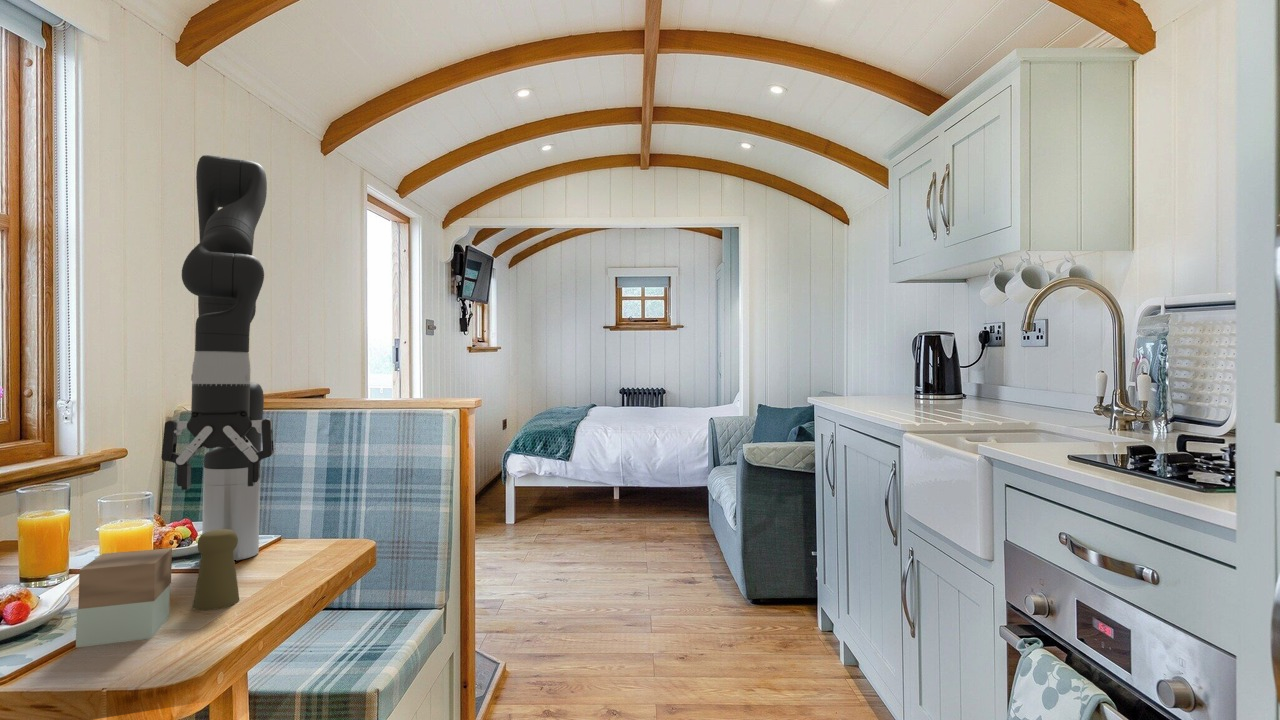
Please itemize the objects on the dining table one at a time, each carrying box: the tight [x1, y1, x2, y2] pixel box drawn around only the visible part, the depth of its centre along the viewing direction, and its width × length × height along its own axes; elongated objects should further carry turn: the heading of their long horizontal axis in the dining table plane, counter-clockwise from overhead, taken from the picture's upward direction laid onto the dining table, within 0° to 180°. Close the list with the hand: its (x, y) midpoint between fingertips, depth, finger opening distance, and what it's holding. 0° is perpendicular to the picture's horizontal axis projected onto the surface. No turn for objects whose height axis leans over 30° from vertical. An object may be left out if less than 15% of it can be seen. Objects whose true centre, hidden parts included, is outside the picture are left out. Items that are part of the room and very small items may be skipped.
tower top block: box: [77, 547, 173, 609], centre depth 88 cm, size 8×8×5 cm
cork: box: [192, 529, 240, 611], centre depth 99 cm, size 6×6×11 cm
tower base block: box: [75, 584, 171, 648], centre depth 88 cm, size 8×8×5 cm
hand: (219, 487), depth 99 cm, fingers open, 8 cm apart
